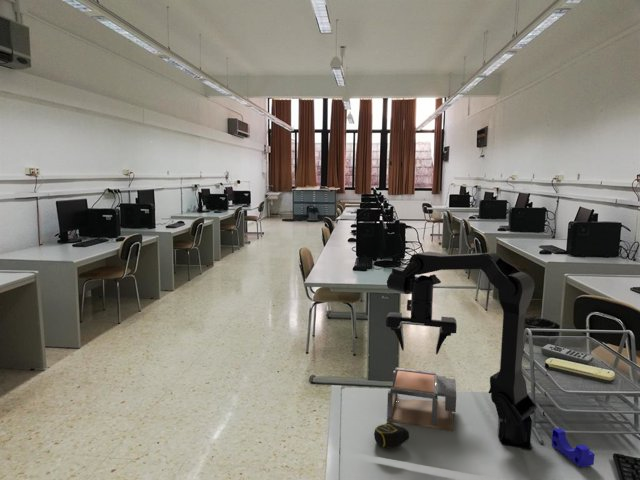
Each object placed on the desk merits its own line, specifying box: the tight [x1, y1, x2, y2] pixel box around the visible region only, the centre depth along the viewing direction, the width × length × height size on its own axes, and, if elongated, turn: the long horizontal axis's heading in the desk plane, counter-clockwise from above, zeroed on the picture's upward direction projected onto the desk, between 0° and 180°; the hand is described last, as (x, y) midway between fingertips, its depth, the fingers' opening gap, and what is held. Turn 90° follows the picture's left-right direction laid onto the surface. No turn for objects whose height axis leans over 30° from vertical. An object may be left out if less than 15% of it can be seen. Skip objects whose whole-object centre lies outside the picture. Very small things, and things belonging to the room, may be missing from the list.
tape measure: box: [373, 421, 410, 449], centre depth 98 cm, size 7×7×4 cm
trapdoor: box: [394, 371, 457, 413], centre depth 112 cm, size 15×10×5 cm, turn 74°
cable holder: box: [551, 427, 595, 468], centre depth 96 cm, size 8×4×4 cm, turn 14°
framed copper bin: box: [386, 367, 454, 432], centre depth 113 cm, size 16×14×8 cm
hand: (419, 351), depth 120 cm, fingers open, 9 cm apart
